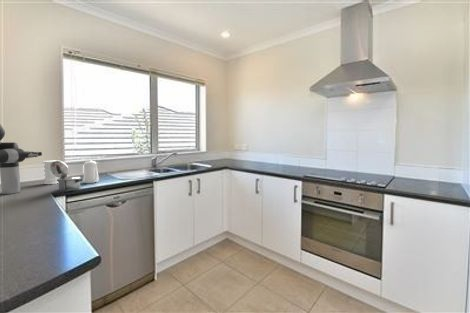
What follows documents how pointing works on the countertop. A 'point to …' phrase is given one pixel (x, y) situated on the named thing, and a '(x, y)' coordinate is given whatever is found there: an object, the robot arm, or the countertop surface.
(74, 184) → the pot
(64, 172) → the lid
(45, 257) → the countertop surface
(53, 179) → the decorative container
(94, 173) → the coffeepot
